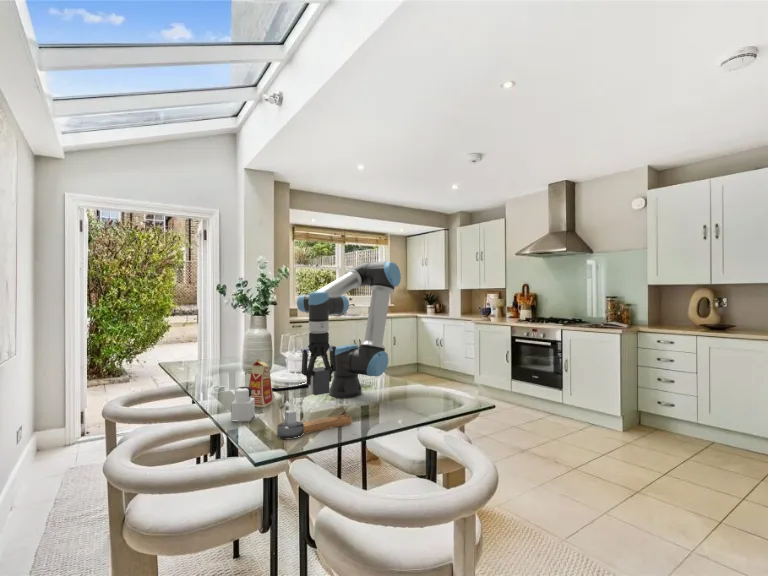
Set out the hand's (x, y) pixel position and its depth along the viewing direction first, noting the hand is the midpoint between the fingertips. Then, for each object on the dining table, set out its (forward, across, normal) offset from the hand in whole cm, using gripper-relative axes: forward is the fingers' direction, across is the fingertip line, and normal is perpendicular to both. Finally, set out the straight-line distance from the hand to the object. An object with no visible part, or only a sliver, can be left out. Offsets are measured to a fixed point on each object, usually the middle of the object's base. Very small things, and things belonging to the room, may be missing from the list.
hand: (319, 391), depth 156 cm
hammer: (+11, -5, -8) cm, 15 cm away
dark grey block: (0, 0, 0) cm, 0 cm away
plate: (+12, +6, +62) cm, 63 cm away
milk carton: (+11, -14, +33) cm, 37 cm away
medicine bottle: (+11, -24, +17) cm, 32 cm away
